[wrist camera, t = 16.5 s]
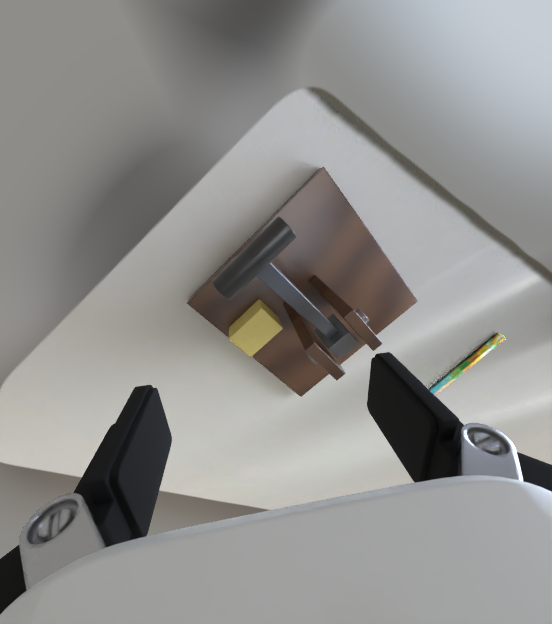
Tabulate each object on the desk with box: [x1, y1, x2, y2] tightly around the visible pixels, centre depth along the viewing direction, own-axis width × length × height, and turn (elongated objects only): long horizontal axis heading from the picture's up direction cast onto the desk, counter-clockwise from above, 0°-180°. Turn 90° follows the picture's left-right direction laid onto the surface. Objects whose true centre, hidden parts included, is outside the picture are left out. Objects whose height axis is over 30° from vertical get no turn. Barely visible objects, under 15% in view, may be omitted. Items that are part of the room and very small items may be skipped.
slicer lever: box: [213, 216, 359, 359], centre depth 19 cm, size 14×5×2 cm, turn 45°
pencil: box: [429, 333, 506, 395], centre depth 40 cm, size 1×1×18 cm
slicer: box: [187, 167, 418, 396], centre depth 27 cm, size 20×20×12 cm
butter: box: [229, 299, 283, 357], centre depth 29 cm, size 5×3×3 cm
